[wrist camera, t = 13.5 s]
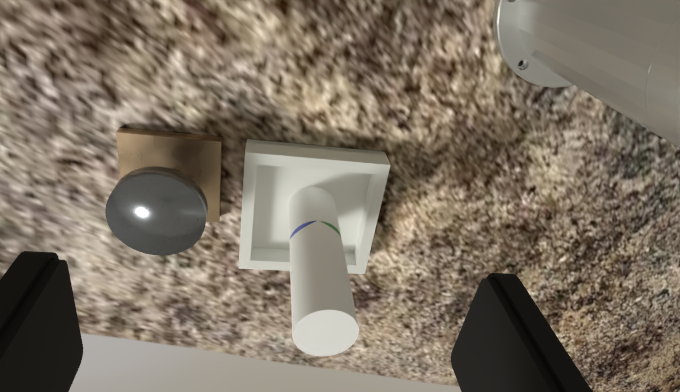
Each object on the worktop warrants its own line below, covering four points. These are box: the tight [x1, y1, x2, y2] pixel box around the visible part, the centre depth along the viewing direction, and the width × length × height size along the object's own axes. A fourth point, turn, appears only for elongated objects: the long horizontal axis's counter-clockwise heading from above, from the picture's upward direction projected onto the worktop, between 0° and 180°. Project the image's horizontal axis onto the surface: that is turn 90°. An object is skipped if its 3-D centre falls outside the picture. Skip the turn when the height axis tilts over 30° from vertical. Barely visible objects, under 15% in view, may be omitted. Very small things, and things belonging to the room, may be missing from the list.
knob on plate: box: [106, 127, 222, 255], centre depth 37 cm, size 8×8×7 cm
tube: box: [288, 186, 359, 356], centre depth 36 cm, size 4×4×15 cm
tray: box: [239, 139, 390, 274], centre depth 42 cm, size 12×12×2 cm
